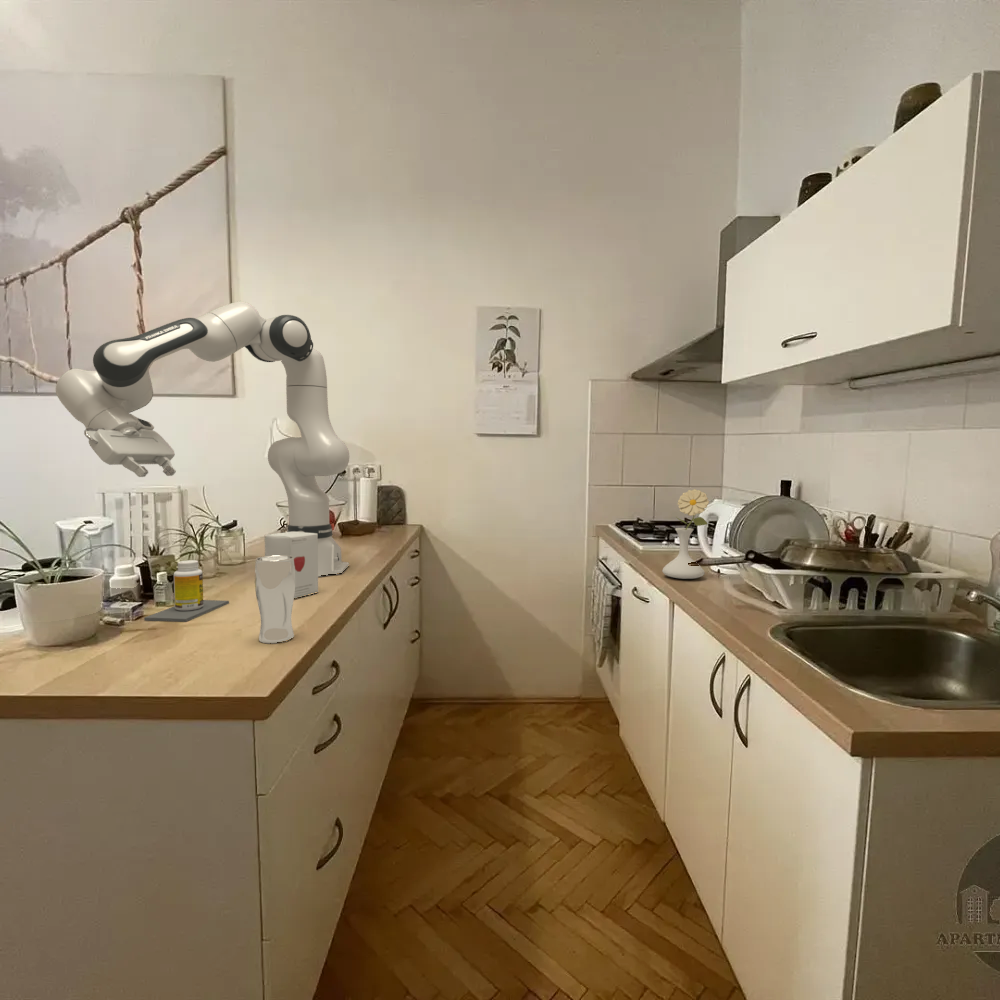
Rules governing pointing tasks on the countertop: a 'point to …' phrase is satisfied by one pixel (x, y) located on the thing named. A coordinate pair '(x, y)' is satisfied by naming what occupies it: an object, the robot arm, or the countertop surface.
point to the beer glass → (275, 596)
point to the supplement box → (297, 557)
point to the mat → (185, 612)
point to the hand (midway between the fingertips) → (158, 474)
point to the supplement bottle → (188, 586)
